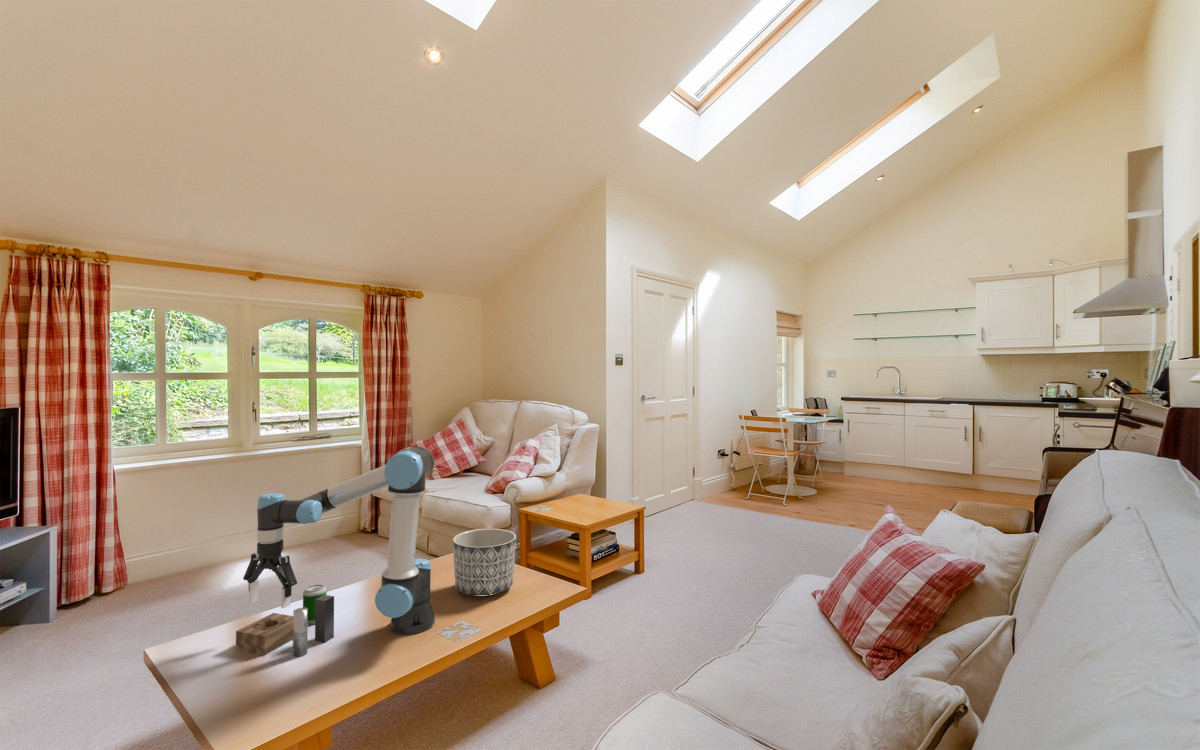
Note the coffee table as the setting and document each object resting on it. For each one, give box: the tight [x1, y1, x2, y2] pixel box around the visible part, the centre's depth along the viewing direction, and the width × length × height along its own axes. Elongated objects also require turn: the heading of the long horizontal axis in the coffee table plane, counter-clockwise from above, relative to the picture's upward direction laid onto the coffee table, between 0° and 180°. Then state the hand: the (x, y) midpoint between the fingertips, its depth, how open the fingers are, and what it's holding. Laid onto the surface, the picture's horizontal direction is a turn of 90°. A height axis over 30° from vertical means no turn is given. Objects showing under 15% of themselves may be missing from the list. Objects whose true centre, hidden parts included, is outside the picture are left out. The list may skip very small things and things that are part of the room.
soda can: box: [302, 584, 327, 625], centre depth 193 cm, size 8×8×12 cm
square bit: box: [314, 594, 335, 644], centre depth 180 cm, size 4×4×14 cm
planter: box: [452, 528, 517, 596], centre depth 223 cm, size 26×26×22 cm
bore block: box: [235, 612, 293, 656], centre depth 177 cm, size 12×14×6 cm
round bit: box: [292, 607, 309, 658], centre depth 170 cm, size 4×4×14 cm
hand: (269, 604), depth 177 cm, fingers open, 13 cm apart
